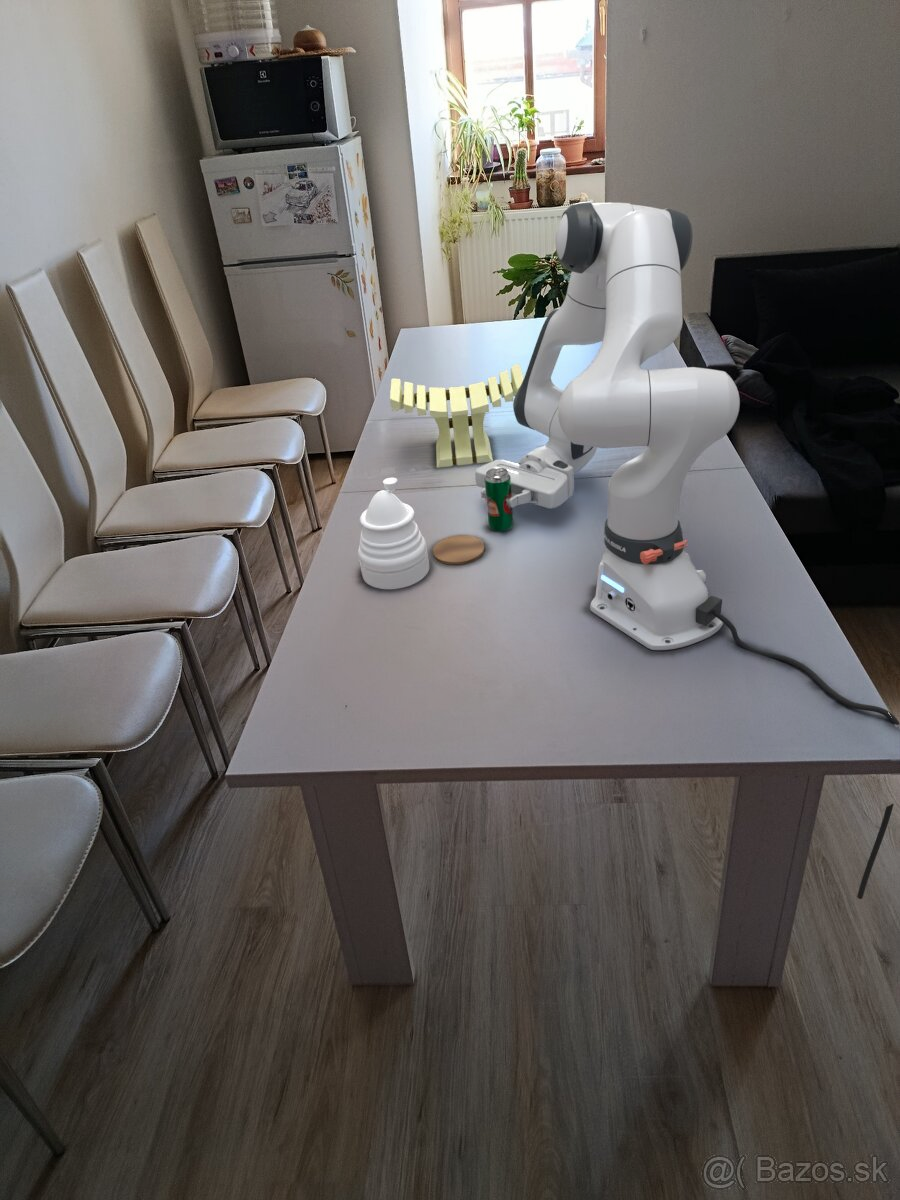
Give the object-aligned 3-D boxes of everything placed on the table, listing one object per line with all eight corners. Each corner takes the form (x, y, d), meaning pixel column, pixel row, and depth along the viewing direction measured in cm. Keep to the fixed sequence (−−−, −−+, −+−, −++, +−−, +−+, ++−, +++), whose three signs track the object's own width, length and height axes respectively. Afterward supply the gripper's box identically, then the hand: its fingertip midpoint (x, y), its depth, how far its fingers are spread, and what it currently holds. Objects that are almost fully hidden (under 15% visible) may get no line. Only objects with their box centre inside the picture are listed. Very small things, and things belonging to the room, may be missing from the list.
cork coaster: (493, 555, 151) (492, 552, 151) (444, 570, 148) (444, 567, 148) (472, 532, 159) (471, 530, 158) (425, 546, 156) (425, 544, 156)
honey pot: (402, 544, 158) (389, 462, 147) (443, 568, 149) (432, 482, 139) (349, 571, 151) (331, 487, 141) (388, 597, 143) (372, 509, 133)
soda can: (484, 525, 161) (479, 471, 154) (506, 517, 162) (502, 464, 155) (495, 535, 157) (491, 480, 150) (518, 528, 158) (514, 473, 151)
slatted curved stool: (521, 430, 197) (518, 359, 187) (529, 457, 184) (525, 383, 174) (402, 443, 198) (391, 374, 188) (401, 471, 185) (389, 398, 175)
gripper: (499, 447, 167) (455, 472, 160) (579, 468, 155) (536, 497, 147) (501, 474, 171) (458, 500, 163) (579, 497, 159) (537, 527, 151)
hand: (496, 499), depth 155 cm, fingers closed on soda can, 5 cm apart
